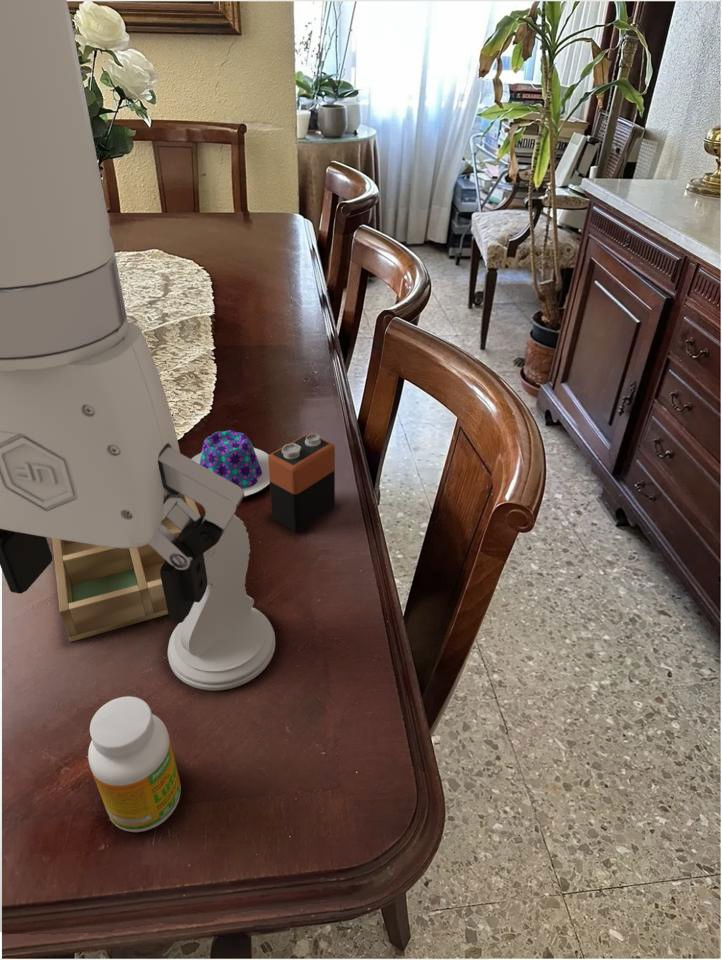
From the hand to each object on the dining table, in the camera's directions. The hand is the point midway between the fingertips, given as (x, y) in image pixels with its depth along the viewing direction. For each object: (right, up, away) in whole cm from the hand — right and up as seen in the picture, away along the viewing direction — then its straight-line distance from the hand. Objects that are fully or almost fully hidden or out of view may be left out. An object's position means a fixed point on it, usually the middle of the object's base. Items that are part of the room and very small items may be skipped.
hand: (109, 590), depth 38 cm
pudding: (-2, +7, +47) cm, 47 cm away
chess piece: (+2, -9, +24) cm, 26 cm away
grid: (-9, -3, +32) cm, 33 cm away
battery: (+8, +2, +40) cm, 41 cm away
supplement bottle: (-2, -18, +12) cm, 21 cm away
